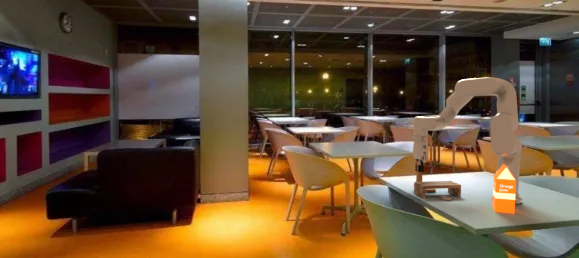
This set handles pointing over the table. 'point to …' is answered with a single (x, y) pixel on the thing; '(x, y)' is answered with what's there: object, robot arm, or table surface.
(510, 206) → the orange juice
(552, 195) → the table surface
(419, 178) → the brown l-shaped piece
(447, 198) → the token
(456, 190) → the wooden shelf stand
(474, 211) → the table surface
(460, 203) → the table surface
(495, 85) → the robot arm
